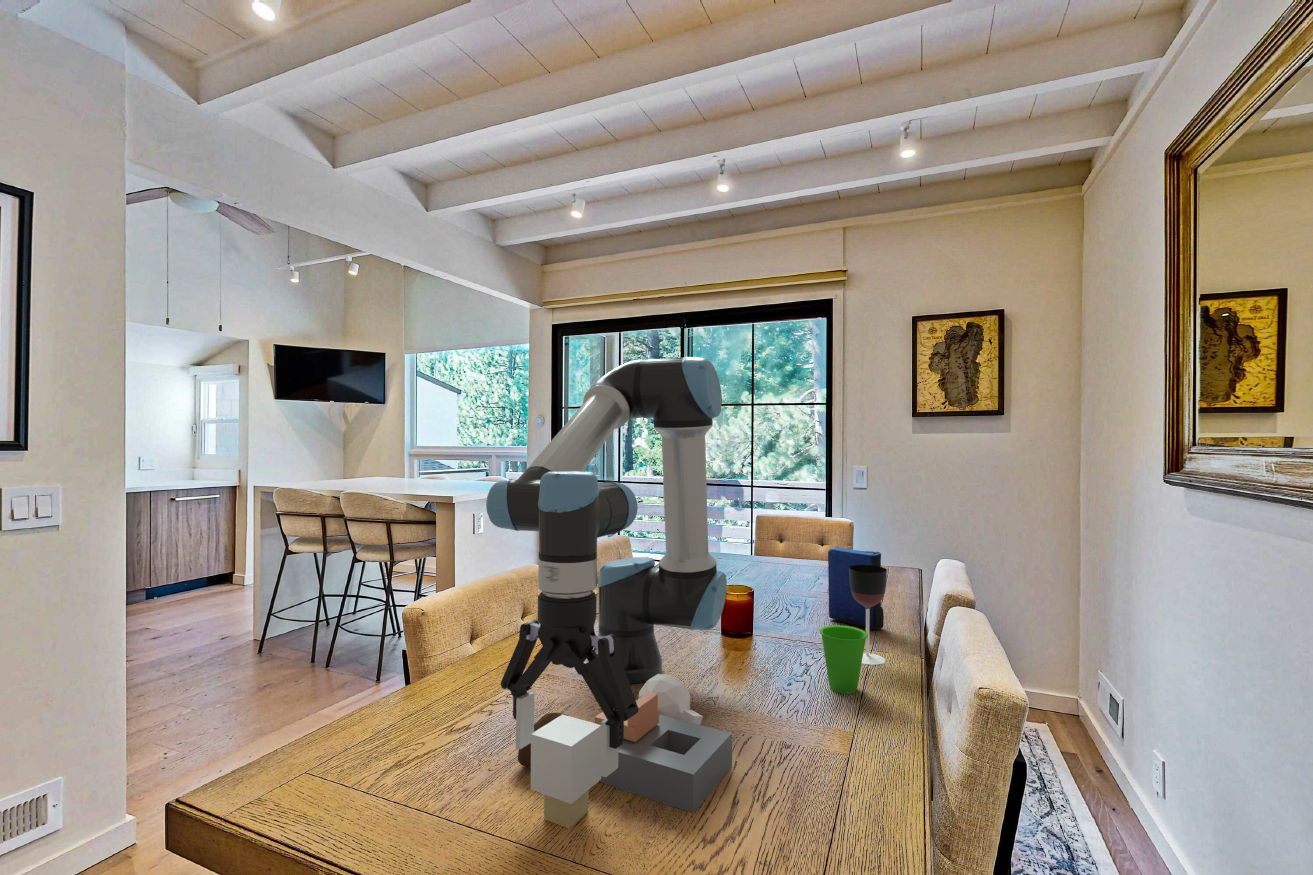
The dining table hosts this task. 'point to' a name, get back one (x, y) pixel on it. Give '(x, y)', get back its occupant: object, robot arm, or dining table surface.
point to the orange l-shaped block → (639, 717)
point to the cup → (843, 656)
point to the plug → (565, 767)
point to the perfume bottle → (671, 698)
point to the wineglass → (868, 597)
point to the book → (840, 591)
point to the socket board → (674, 763)
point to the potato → (525, 752)
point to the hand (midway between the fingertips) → (565, 757)
